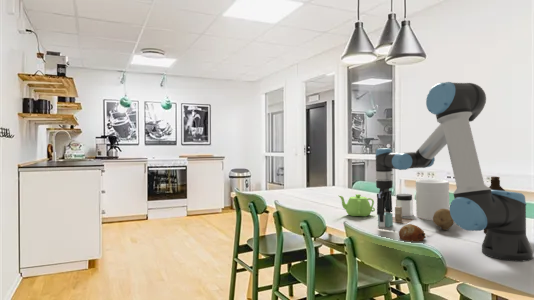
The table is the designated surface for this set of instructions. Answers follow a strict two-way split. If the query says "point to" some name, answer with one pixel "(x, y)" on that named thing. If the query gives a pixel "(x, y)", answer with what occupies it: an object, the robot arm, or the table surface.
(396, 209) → the post
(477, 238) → the table surface
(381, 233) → the table surface
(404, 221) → the board
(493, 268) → the table surface
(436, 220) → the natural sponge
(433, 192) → the canister
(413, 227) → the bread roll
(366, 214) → the teapot
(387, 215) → the teal block
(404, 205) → the jar
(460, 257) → the table surface
